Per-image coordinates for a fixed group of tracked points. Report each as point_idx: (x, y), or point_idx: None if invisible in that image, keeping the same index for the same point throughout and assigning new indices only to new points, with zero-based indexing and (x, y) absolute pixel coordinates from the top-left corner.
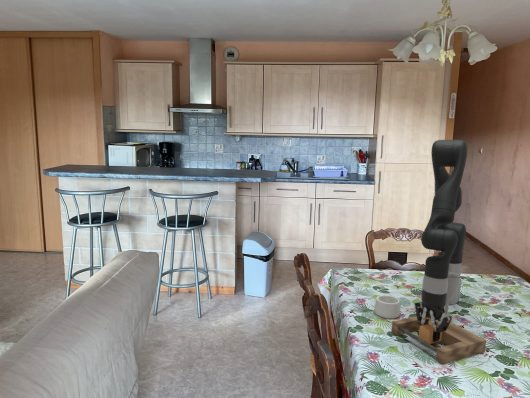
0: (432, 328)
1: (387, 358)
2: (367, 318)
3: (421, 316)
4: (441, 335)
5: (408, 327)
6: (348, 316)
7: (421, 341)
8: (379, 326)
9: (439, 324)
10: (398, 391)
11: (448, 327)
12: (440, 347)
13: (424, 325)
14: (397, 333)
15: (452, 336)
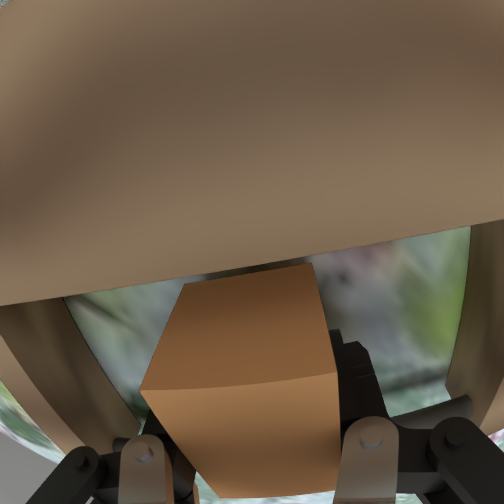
0: (300, 462)
1: (329, 496)
2: (7, 410)
3: (96, 498)
4: (319, 301)
5: (82, 388)
6: (19, 442)
7: None
8: None
9: (377, 501)
10: None
11: (168, 90)
12: (480, 426)
13: (212, 478)
14: (134, 429)
15: (437, 228)
